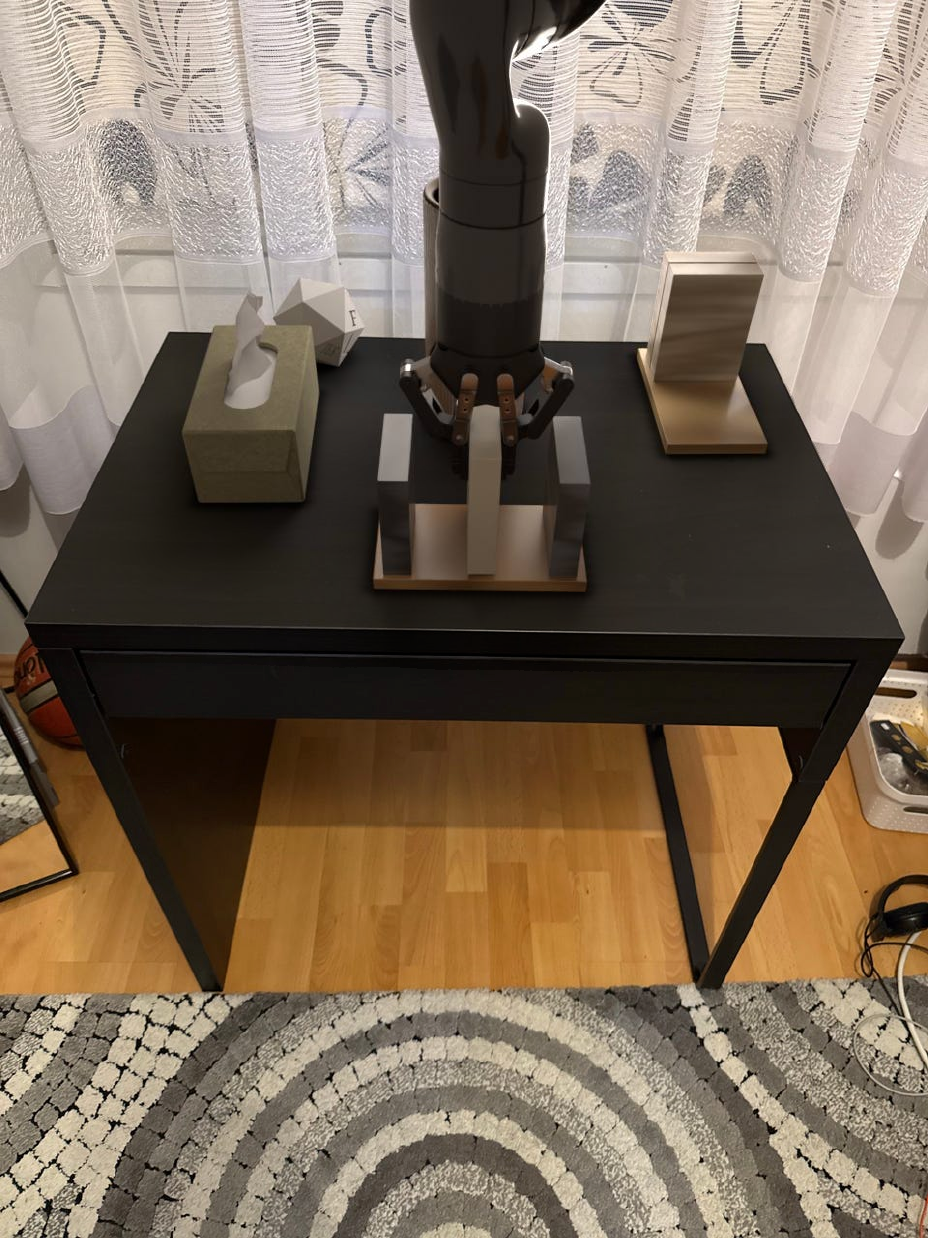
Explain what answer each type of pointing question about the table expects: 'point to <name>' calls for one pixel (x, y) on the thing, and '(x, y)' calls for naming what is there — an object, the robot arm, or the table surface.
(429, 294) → the planter
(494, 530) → the cream book
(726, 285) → the cream book rack
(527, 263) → the robot arm
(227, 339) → the tissue box
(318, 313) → the die
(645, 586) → the table surface
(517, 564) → the grey book rack
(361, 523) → the table surface
